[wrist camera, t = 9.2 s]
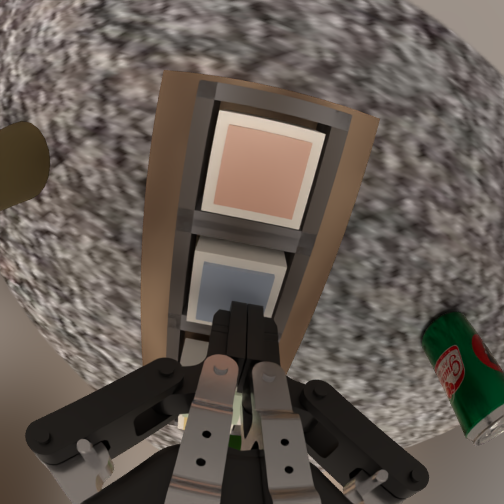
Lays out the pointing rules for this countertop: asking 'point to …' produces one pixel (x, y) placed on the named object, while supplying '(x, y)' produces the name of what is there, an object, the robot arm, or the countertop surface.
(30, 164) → the cork
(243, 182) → the key
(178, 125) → the keypad
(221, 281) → the key
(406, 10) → the countertop surface
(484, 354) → the soda can
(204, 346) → the key
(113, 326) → the countertop surface
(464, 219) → the countertop surface
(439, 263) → the countertop surface
